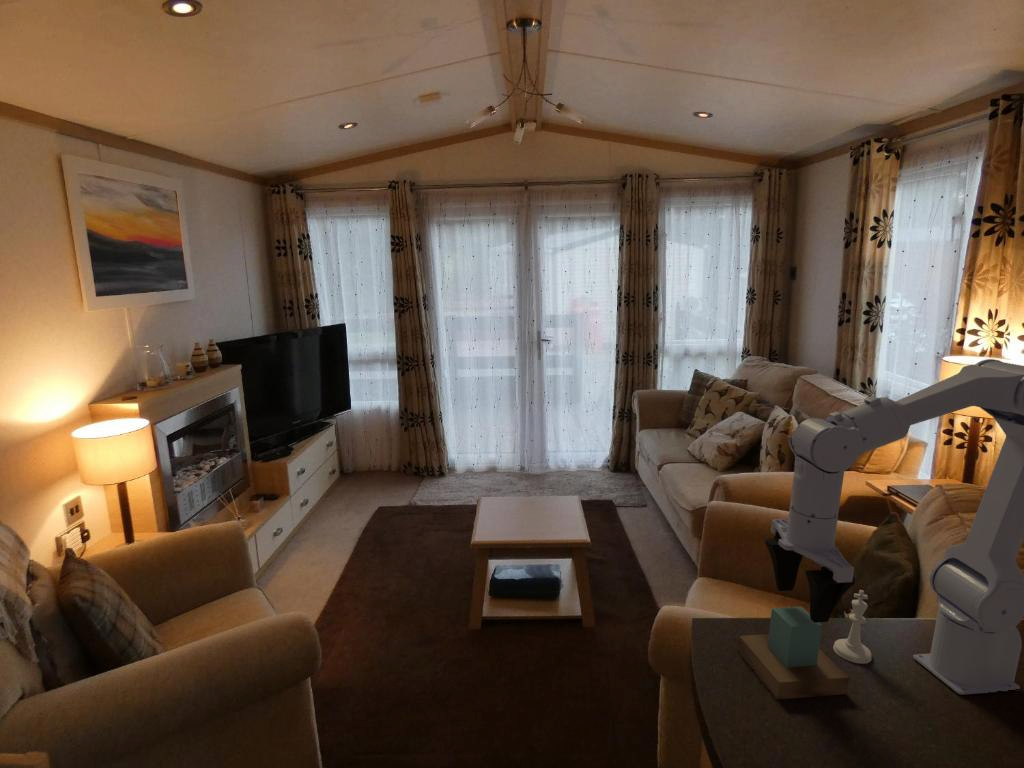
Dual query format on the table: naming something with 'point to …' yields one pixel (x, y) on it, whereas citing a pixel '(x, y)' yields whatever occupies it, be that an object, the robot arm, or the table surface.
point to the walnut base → (792, 672)
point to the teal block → (794, 636)
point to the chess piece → (855, 635)
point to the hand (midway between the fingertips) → (801, 604)
